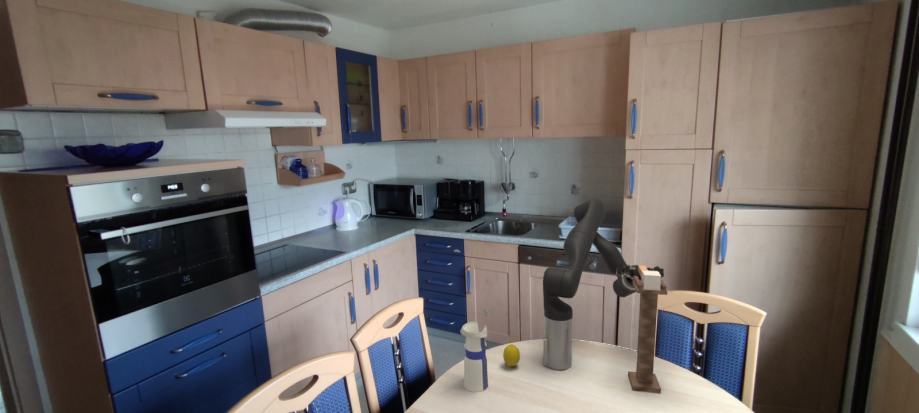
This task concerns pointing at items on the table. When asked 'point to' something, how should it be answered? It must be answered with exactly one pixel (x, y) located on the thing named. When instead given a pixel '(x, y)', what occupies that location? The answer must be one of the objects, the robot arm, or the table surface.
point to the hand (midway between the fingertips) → (643, 268)
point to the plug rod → (649, 278)
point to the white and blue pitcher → (475, 357)
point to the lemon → (511, 355)
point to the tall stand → (646, 340)
